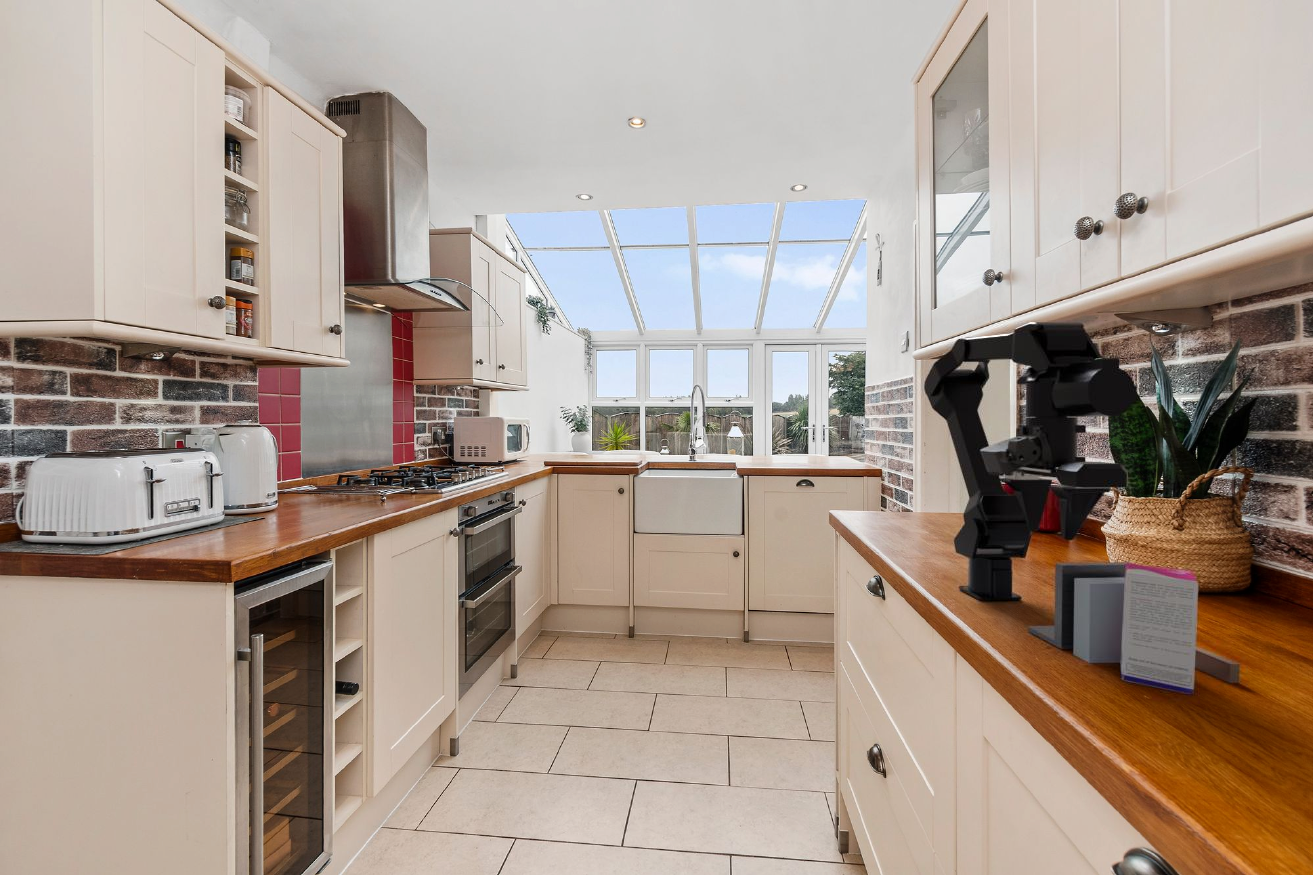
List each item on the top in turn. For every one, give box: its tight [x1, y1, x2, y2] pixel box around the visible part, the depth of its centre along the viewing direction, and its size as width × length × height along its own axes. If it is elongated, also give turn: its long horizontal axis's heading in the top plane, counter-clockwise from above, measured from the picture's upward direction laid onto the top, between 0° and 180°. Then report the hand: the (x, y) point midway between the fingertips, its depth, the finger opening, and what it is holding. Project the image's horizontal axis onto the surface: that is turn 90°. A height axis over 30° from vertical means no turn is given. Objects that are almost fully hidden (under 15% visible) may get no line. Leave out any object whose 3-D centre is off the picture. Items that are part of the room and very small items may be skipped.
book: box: [1072, 577, 1125, 664], centre depth 68 cm, size 2×8×9 cm, turn 92°
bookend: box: [1026, 561, 1134, 650], centre depth 74 cm, size 6×9×10 cm
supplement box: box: [1120, 563, 1199, 695], centre depth 63 cm, size 6×6×12 cm
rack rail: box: [1195, 645, 1241, 684], centre depth 69 cm, size 15×1×2 cm, turn 2°
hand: (1049, 535), depth 79 cm, fingers open, 6 cm apart
